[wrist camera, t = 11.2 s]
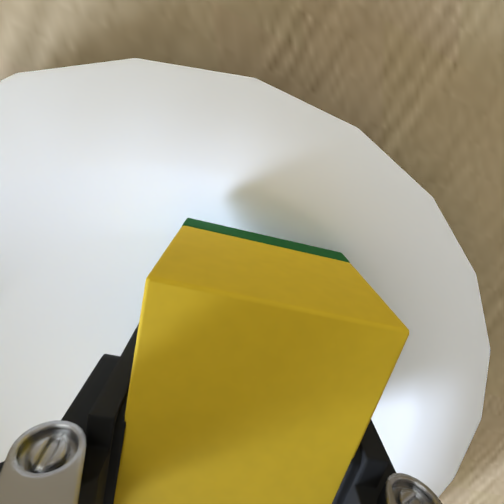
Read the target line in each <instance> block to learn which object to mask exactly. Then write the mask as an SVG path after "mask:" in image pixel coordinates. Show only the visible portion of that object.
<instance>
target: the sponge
mask: <svg viewBox="0 0 504 504" xmlns="http://www.w3.org/2000/svg"><path fill="white" fill-rule="evenodd" d="M408 336H409V329H408V328H407V327H406V326H405V325H404V324H403V322H402V321H401V320H400V319H399V318H398V317H397V316H396V314H395V313H394V312H393V311H392V310H391V309H390V308H389V306H388V305H387V304H386V303H385V302H384V301H383V300H382V299H381V297H380V296H379V295H378V294H377V293H376V292H375V291H374V289H373V288H372V287H371V286H370V285H369V284H368V283H367V281H366V280H365V279H364V278H363V277H362V276H361V275H360V273H359V272H358V271H357V270H356V269H355V268H354V267H353V266H352V264H350V262H349V261H348V259H347V258H346V257H345V256H344V255H343V254H342V253H341V252H337V251H332V250H328V249H323V248H319V247H315V246H310V245H306V244H302V243H297V242H293V241H288V240H284V239H280V238H275V237H271V236H266V235H262V234H258V233H253V232H249V231H245V230H240V229H236V228H231V227H227V226H223V225H218V224H214V223H210V222H205V221H201V220H196V219H192V218H187V219H186V220H185V222H184V223H183V225H182V227H181V228H180V230H179V231H178V233H177V234H176V236H175V237H174V238H173V240H172V241H171V243H170V244H169V246H168V247H167V249H166V250H165V252H164V253H163V254H162V256H161V257H160V259H159V260H158V262H157V263H156V265H155V266H154V268H153V269H152V271H151V272H150V273H149V275H148V276H147V278H146V281H145V288H144V294H143V301H142V307H141V314H140V320H139V326H138V333H137V339H136V346H135V352H134V359H133V365H132V371H131V378H130V384H129V391H128V397H127V404H126V410H125V422H126V427H125V433H124V440H123V446H122V452H121V459H120V465H119V471H118V478H117V484H116V490H115V497H114V503H113V504H332V502H333V500H334V498H335V496H336V493H337V491H338V489H339V487H340V484H341V482H342V480H343V478H344V476H345V473H346V471H347V469H348V467H349V464H350V462H351V460H352V459H353V458H354V456H355V453H356V451H357V449H358V447H359V444H360V442H361V440H362V438H363V436H364V433H365V431H366V429H367V427H368V425H369V422H370V420H371V418H372V416H373V413H374V411H375V409H376V407H377V405H378V402H379V400H380V398H381V396H382V394H383V391H384V389H385V387H386V385H387V383H388V380H389V378H390V376H391V374H392V371H393V369H394V367H395V365H396V363H397V360H398V358H399V356H400V354H401V352H402V349H403V347H404V345H405V343H406V340H407V338H408Z"/></svg>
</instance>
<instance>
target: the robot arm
mask: <svg viewBox="0 0 504 504" xmlns="http://www.w3.org/2000/svg"><path fill="white" fill-rule="evenodd" d="M138 326H139V324H138V325H137V327H136V329H135V331H134V333H133V334H132V336H131V338H130V340H129V342H128V343H127V345H126V347H125V349H124V350H123V352H122V354H121V356H116V355H110V354H104V355H103V356H102V357H101V358H100V360H99V362H98V363H97V365H96V366H95V368H94V369H93V371H92V373H91V374H90V376H89V377H88V379H87V380H86V382H85V383H84V385H83V387H82V388H81V390H80V391H79V393H78V394H77V396H76V397H75V399H74V401H73V402H72V404H71V405H70V407H69V408H68V410H67V411H66V413H65V415H64V416H63V418H62V419H61V421H60V420H55V421H49V422H44V423H42V424H39V425H36V426H34V427H32V428H30V429H29V430H27V431H26V432H24V433H23V434H22V435H21V436H20V437H18V438H17V439H16V440H15V441H14V443H13V445H12V446H11V448H10V450H9V452H8V454H7V457H6V459H5V461H3V462H1V463H0V504H113V503H114V497H115V490H116V484H117V478H118V471H119V465H120V459H121V452H122V446H123V440H124V433H125V427H126V422H125V410H126V404H127V397H128V391H129V384H130V378H131V371H132V365H133V359H134V352H135V346H136V339H137V333H138ZM332 504H442V503H441V501H440V500H439V498H438V497H437V495H436V494H435V493H434V492H433V491H432V490H431V489H430V488H429V487H428V486H426V485H425V484H424V483H422V482H421V481H420V480H418V479H416V478H414V477H412V476H410V475H407V474H404V473H396V471H395V469H394V467H393V465H392V463H391V460H390V458H389V456H388V454H387V452H386V450H385V448H384V445H383V443H382V441H381V439H380V437H379V435H378V433H377V431H376V428H375V426H374V424H373V422H372V420H370V422H369V425H368V427H367V429H366V431H365V433H364V436H363V438H362V440H361V442H360V444H359V447H358V449H357V451H356V453H355V456H354V458H353V459H352V460H351V462H350V464H349V467H348V469H347V471H346V473H345V476H344V478H343V480H342V482H341V484H340V487H339V489H338V491H337V493H336V496H335V498H334V500H333V502H332Z"/></svg>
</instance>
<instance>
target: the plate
mask: <svg viewBox="0 0 504 504" xmlns="http://www.w3.org/2000/svg"><path fill="white" fill-rule="evenodd" d="M187 218H192V219H196V220H201V221H205V222H210V223H214V224H218V225H223V226H227V227H231V228H236V229H240V230H245V231H249V232H253V233H258V234H262V235H266V236H271V237H275V238H280V239H284V240H288V241H293V242H297V243H302V244H306V245H310V246H315V247H319V248H323V249H328V250H332V251H337V252H341V253H342V254H343V255H344V256H345V257H346V258H347V259H348V261H349V262H350V264H352V266H353V267H354V268H355V269H356V270H357V271H358V272H359V273H360V275H361V276H362V277H363V278H364V279H365V280H366V281H367V283H368V284H369V285H370V286H371V287H372V288H373V289H374V291H375V292H376V293H377V294H378V295H379V296H380V297H381V299H382V300H383V301H384V302H385V303H386V304H387V305H388V306H389V308H390V309H391V310H392V311H393V312H394V313H395V314H396V316H397V317H398V318H399V319H400V320H401V321H402V322H403V324H404V325H405V326H406V327H407V328H408V329H409V336H408V338H407V340H406V343H405V345H404V347H403V349H402V352H401V354H400V356H399V358H398V360H397V363H396V365H395V367H394V369H393V371H392V374H391V376H390V378H389V380H388V383H387V385H386V387H385V389H384V391H383V394H382V396H381V398H380V400H379V402H378V405H377V407H376V409H375V411H374V413H373V416H372V418H371V420H372V422H373V424H374V426H375V428H376V431H377V433H378V435H379V437H380V439H381V441H382V443H383V445H384V448H385V450H386V452H387V454H388V456H389V458H390V460H391V463H392V465H393V467H394V469H395V471H396V473H404V474H407V475H410V476H412V477H414V478H416V479H418V480H420V481H421V482H422V483H424V484H425V485H426V486H428V487H429V488H430V489H431V490H432V491H433V492H434V493H435V494H436V495H437V497H439V496H440V495H441V494H442V492H443V491H444V490H445V489H446V488H447V486H448V485H449V484H450V483H451V482H452V480H453V479H454V477H455V475H456V473H457V471H458V469H459V466H460V464H461V462H462V460H463V458H464V456H465V453H466V451H467V449H468V447H469V445H470V443H471V440H472V438H473V436H474V434H475V432H476V429H477V427H478V425H479V423H480V421H481V418H482V410H483V403H484V395H485V388H486V381H487V373H488V366H489V358H490V351H491V349H490V344H489V339H488V334H487V328H486V323H485V318H484V313H483V307H482V302H481V297H480V292H479V286H478V281H477V276H476V273H475V271H474V269H473V268H472V266H471V264H470V262H469V261H468V259H467V257H466V255H465V253H464V252H463V250H462V248H461V246H460V245H459V243H458V241H457V239H456V237H455V236H454V234H453V232H452V230H451V229H450V227H449V225H448V223H447V221H446V220H445V218H444V216H443V214H442V213H441V211H440V209H439V207H438V205H437V204H436V202H435V200H434V198H433V197H432V196H431V195H430V194H429V193H428V192H427V191H426V190H425V189H423V188H422V187H421V186H420V185H419V184H418V183H417V182H416V181H415V180H414V179H413V178H412V177H411V176H409V175H408V174H407V173H406V172H405V171H404V170H403V169H402V168H401V167H400V166H399V165H398V164H396V163H395V162H394V161H393V160H392V159H391V158H390V157H389V156H388V155H387V154H386V153H385V152H384V151H382V150H381V149H380V148H379V147H378V146H377V145H376V144H375V143H374V142H373V141H372V140H371V139H370V138H368V137H367V136H366V135H365V134H364V133H363V132H362V131H361V130H360V129H359V128H357V127H355V126H353V125H351V124H349V123H347V122H345V121H343V120H341V119H339V118H337V117H335V116H332V115H330V114H328V113H326V112H324V111H322V110H320V109H318V108H316V107H314V106H312V105H310V104H308V103H306V102H304V101H302V100H300V99H298V98H295V97H293V96H291V95H289V94H287V93H285V92H283V91H281V90H279V89H277V88H275V87H273V86H271V85H269V84H267V83H265V82H263V81H260V80H258V79H256V78H252V77H246V76H240V75H234V74H228V73H222V72H217V71H211V70H205V69H199V68H193V67H187V66H181V65H175V64H169V63H163V62H157V61H151V60H145V59H139V58H131V59H123V60H116V61H108V62H100V63H92V64H84V65H76V66H69V67H61V68H53V69H45V70H37V71H29V72H22V73H16V74H14V75H12V76H10V77H7V78H5V79H3V80H1V81H0V463H1V462H3V461H5V459H6V457H7V454H8V452H9V450H10V448H11V446H12V445H13V443H14V441H15V440H16V439H17V438H18V437H20V436H21V435H22V434H23V433H24V432H26V431H27V430H29V429H30V428H32V427H34V426H36V425H39V424H42V423H44V422H49V421H55V420H60V421H61V419H62V418H63V416H64V415H65V413H66V411H67V410H68V408H69V407H70V405H71V404H72V402H73V401H74V399H75V397H76V396H77V394H78V393H79V391H80V390H81V388H82V387H83V385H84V383H85V382H86V380H87V379H88V377H89V376H90V374H91V373H92V371H93V369H94V368H95V366H96V365H97V363H98V362H99V360H100V358H101V357H102V356H103V355H104V354H110V355H116V356H121V354H122V352H123V350H124V349H125V347H126V345H127V343H128V342H129V340H130V338H131V336H132V334H133V333H134V331H135V329H136V327H137V325H138V324H139V320H140V314H141V307H142V301H143V294H144V288H145V281H146V278H147V276H148V275H149V273H150V272H151V271H152V269H153V268H154V266H155V265H156V263H157V262H158V260H159V259H160V257H161V256H162V254H163V253H164V252H165V250H166V249H167V247H168V246H169V244H170V243H171V241H172V240H173V238H174V237H175V236H176V234H177V233H178V231H179V230H180V228H181V227H182V225H183V223H184V222H185V220H186V219H187Z"/></svg>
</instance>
